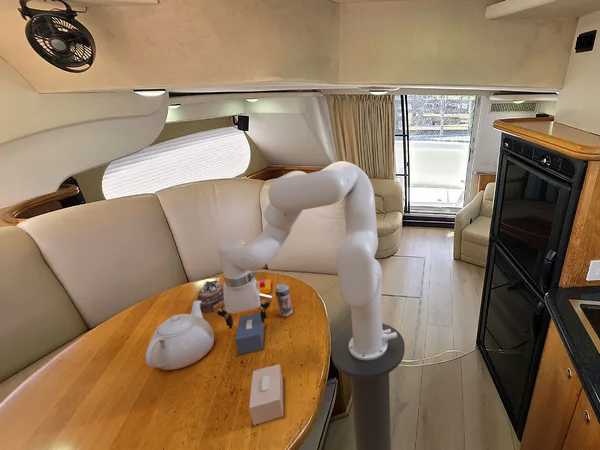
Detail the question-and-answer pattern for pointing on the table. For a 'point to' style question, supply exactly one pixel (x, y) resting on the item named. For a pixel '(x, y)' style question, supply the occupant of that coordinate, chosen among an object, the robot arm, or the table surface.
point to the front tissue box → (266, 394)
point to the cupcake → (210, 295)
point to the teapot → (180, 341)
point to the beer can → (283, 299)
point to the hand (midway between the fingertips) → (247, 323)
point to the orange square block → (264, 286)
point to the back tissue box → (250, 333)
